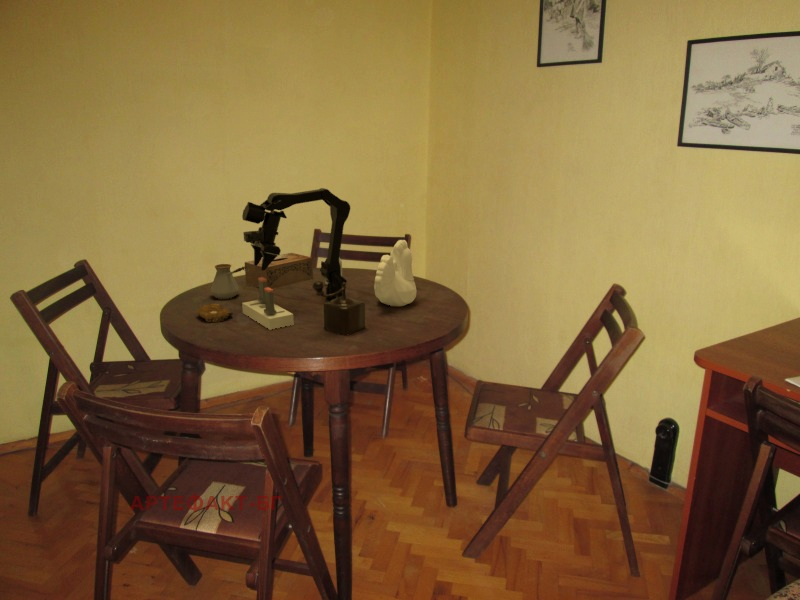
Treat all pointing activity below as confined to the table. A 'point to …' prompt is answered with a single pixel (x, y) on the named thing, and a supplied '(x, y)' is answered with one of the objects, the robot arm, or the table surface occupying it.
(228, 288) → the coffee pot
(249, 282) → the tissue box cover
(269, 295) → the switch
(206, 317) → the decorative rock
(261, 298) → the switch
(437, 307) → the table surface
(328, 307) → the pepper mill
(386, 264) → the cream foot sculpture
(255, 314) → the cream lever base
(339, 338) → the table surface
